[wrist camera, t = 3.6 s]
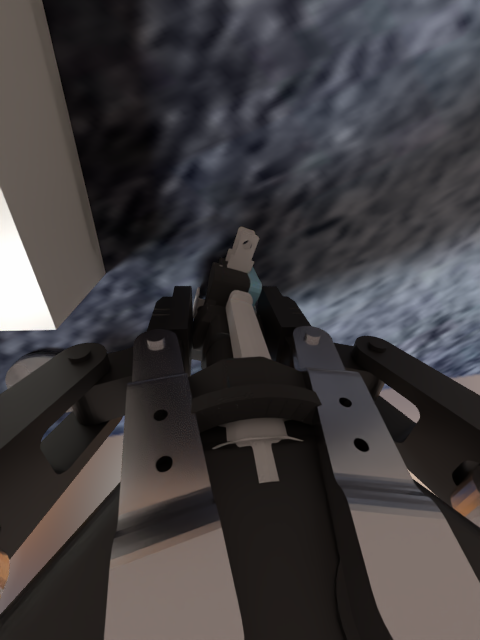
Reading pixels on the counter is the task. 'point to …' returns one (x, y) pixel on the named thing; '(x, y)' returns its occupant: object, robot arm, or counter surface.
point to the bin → (39, 182)
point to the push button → (242, 363)
